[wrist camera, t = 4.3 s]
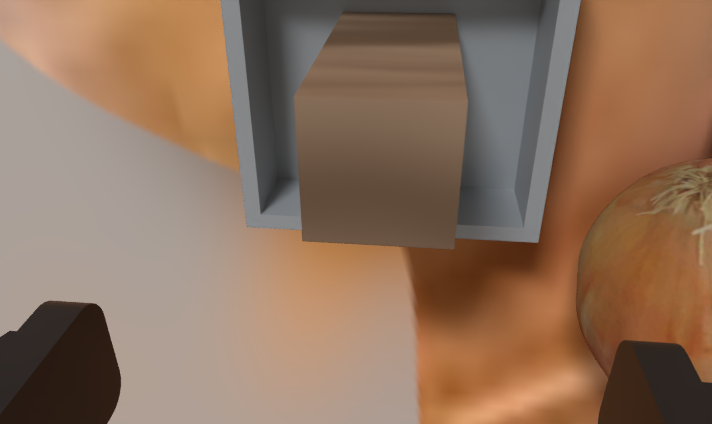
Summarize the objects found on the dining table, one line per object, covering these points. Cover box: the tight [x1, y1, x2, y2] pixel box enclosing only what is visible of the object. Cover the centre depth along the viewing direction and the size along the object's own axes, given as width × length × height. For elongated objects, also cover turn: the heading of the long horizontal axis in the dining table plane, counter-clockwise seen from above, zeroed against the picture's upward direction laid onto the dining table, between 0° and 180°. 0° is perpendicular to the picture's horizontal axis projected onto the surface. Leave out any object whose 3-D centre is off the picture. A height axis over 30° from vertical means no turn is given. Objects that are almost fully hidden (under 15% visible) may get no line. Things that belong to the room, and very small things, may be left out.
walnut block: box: [294, 12, 468, 250], centre depth 19 cm, size 4×4×9 cm
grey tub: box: [220, 0, 581, 243], centre depth 21 cm, size 11×11×4 cm
